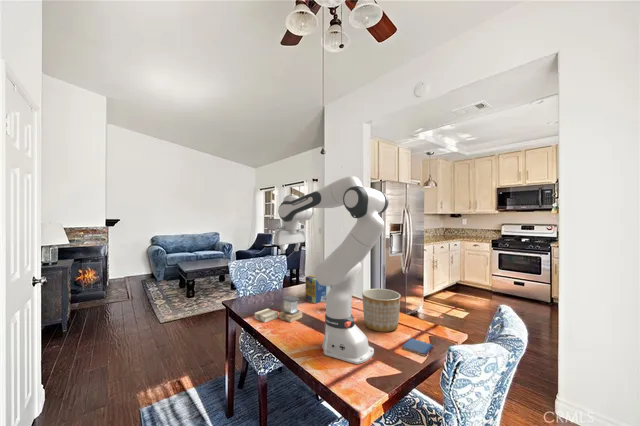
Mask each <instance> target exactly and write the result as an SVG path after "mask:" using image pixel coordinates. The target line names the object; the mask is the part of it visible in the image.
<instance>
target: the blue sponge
mask: <svg viewBox="0 0 640 426" xmlns="http://www.w3.org/2000/svg"><path fill="white" fill-rule="evenodd" d="M401 348H402V350H405V351H407V352H411V353H413V354H414V353H415V354H417V355H421V354H423V355H422V356H423V357H426V356H428V354H429V353H430V351H432V349H434V344H432V343H428V342H427V341H426V342H425V341H422V340H420V339H419V340H418V339H415V338H411V337H410V338H409V339H408V340H407V342H405V343H404V344H403V345H402V346H401ZM425 355H426V356H425Z"/></svg>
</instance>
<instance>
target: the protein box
mask: <svg viewBox="0 0 640 426" xmlns="http://www.w3.org/2000/svg"><path fill="white" fill-rule="evenodd" d="M331 287H332V286H322V285H320V284H319V283H318V282H317V280H316V278H315V274H313V275H309V276H305V301H307V302H311V303H313V304H315V305H316V304H320V303H321V299H323V300H326V296H327V294H328V292H329V291H330V289H331Z"/></svg>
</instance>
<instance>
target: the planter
mask: <svg viewBox="0 0 640 426" xmlns="http://www.w3.org/2000/svg"><path fill="white" fill-rule="evenodd" d="M361 295H362V296H361V297H362V308H363V309H362V311H363V322H364V323H363V324H365V326H366V328H368V329H370V330H371V331H375V332H380V333H385V332H386V333H387V332H393V331H395V330H397V329H398V327H399V319H400V308H401V296H402V295H401V294H400V293H399V292H397V291H395V290H392V289H387V288H369V289H365V290H364V291H362V293H361Z"/></svg>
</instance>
